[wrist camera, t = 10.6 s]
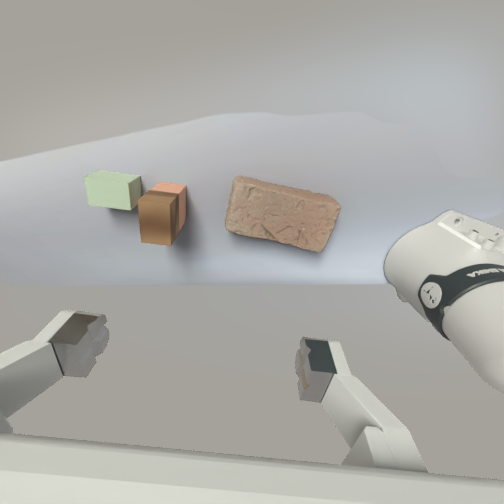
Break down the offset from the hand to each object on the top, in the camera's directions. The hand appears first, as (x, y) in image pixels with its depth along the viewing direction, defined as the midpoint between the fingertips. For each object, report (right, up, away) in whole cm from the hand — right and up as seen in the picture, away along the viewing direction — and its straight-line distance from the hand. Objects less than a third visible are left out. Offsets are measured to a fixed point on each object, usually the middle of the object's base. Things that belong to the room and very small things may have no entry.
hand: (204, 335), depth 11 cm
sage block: (-18, +14, +29) cm, 37 cm away
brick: (+6, +11, +32) cm, 34 cm away
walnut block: (-11, +9, +27) cm, 30 cm away
